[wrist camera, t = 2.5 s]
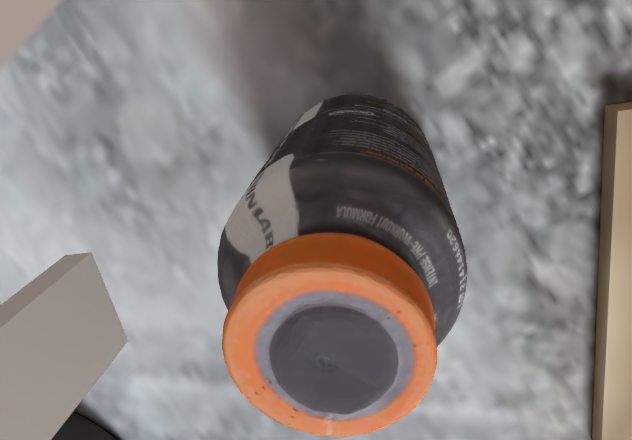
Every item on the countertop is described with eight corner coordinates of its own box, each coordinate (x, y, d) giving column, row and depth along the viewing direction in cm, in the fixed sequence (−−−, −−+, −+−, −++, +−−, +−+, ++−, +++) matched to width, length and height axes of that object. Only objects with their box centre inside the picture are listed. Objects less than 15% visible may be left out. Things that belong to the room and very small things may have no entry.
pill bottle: (254, 132, 19) (101, 283, 8) (395, 63, 17) (421, 146, 7) (320, 257, 21) (262, 505, 10) (454, 206, 19) (544, 439, 9)
